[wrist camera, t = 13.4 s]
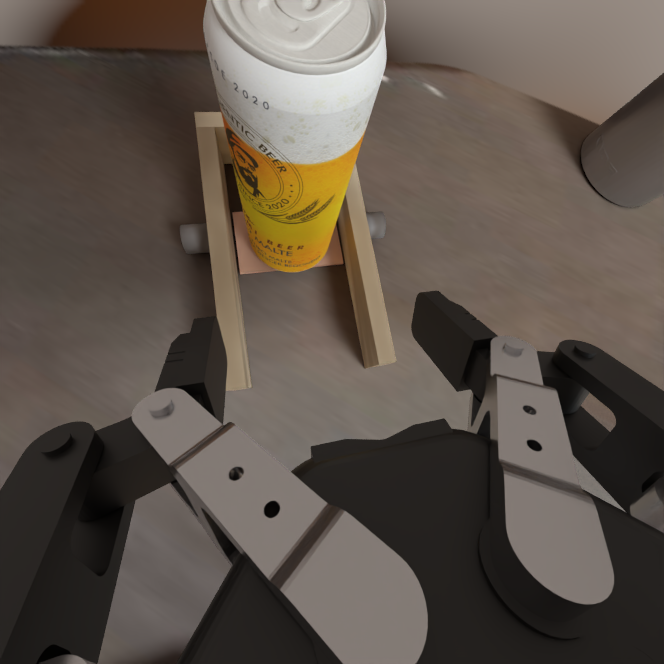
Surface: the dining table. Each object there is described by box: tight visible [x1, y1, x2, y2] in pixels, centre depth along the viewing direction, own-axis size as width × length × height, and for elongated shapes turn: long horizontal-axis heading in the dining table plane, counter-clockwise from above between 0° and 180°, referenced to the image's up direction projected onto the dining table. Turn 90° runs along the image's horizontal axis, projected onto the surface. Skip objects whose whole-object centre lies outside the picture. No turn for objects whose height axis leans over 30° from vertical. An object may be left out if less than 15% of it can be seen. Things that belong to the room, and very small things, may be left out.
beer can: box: [203, 0, 386, 272], centre depth 16 cm, size 6×6×15 cm
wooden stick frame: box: [180, 112, 397, 391], centre depth 22 cm, size 15×19×4 cm
